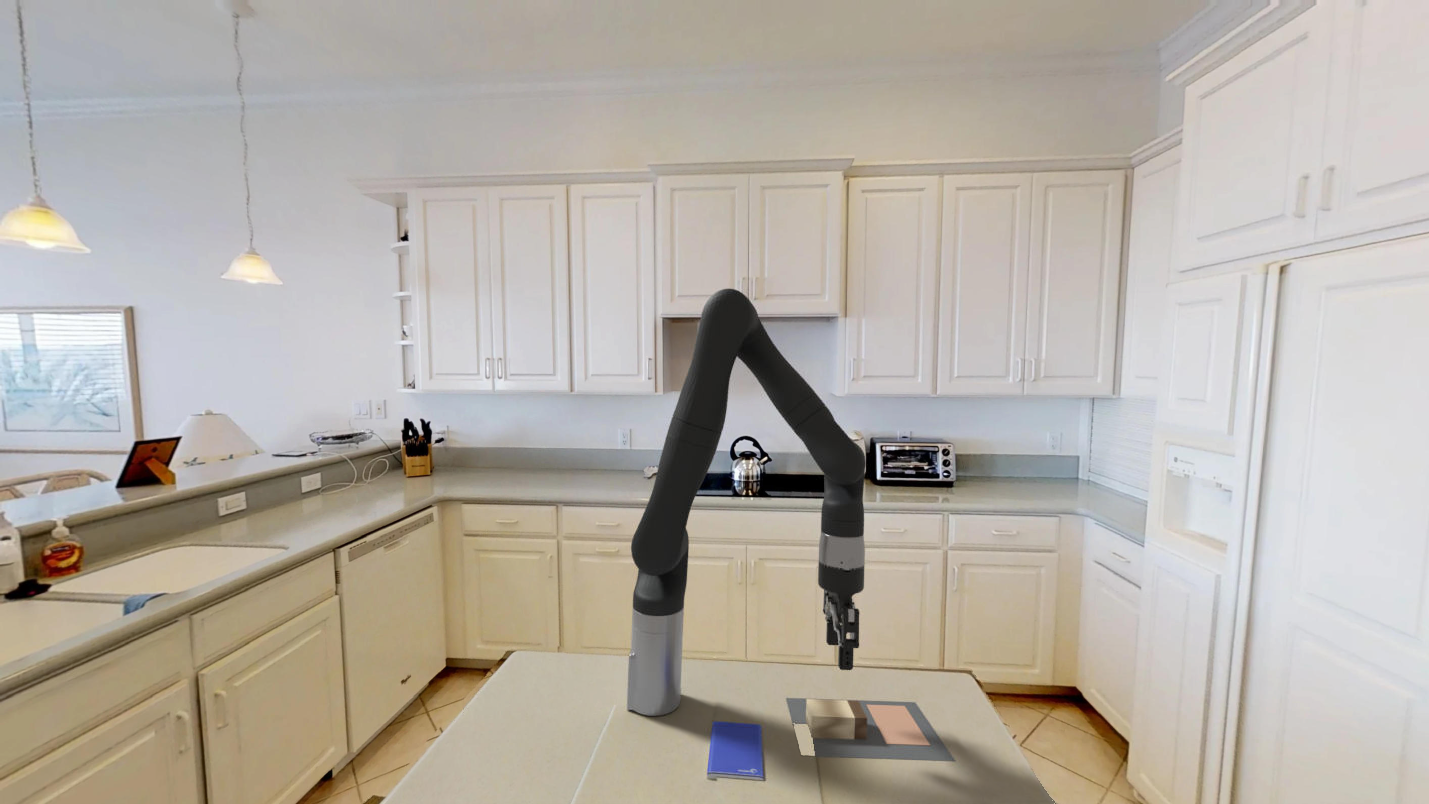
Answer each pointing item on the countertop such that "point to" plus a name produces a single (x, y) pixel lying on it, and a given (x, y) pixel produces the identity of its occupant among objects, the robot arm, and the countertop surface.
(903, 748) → the rubber mat
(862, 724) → the beige rectangular block
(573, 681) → the countertop surface
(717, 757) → the hard drive
